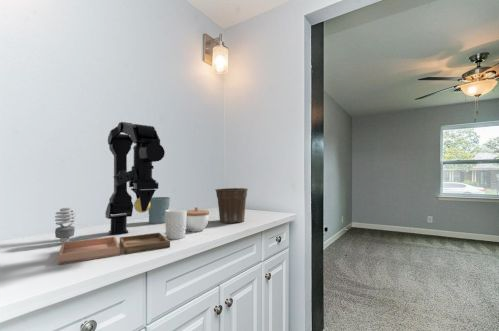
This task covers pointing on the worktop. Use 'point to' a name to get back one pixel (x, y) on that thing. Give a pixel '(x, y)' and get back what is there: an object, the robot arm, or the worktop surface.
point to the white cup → (175, 223)
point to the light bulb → (65, 231)
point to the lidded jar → (197, 219)
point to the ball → (139, 206)
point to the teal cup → (158, 209)
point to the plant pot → (231, 204)
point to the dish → (88, 250)
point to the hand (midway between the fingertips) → (142, 210)
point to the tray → (143, 243)
